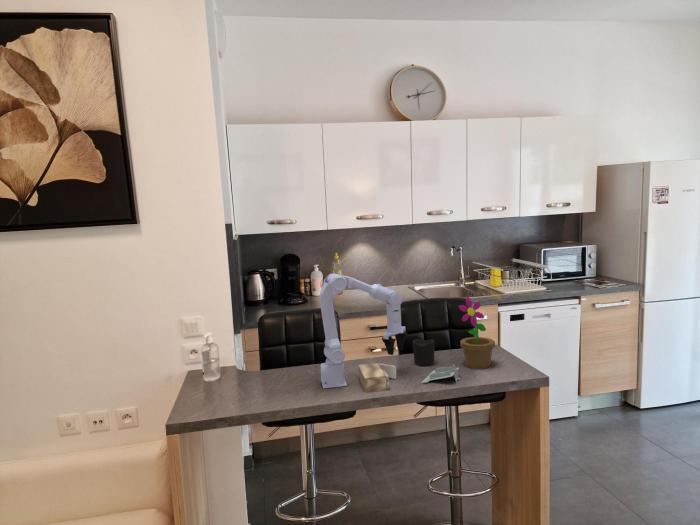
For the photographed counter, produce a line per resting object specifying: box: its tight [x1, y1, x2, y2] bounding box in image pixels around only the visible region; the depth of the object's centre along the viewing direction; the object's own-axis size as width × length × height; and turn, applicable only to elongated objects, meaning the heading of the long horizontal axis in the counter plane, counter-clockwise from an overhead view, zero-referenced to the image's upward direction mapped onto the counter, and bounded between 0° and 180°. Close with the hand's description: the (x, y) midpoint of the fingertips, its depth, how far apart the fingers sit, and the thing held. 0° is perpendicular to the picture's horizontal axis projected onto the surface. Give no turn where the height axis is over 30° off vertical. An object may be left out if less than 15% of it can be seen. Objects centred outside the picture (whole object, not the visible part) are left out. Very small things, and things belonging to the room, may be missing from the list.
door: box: [378, 362, 397, 380], centre depth 197 cm, size 1×8×5 cm, turn 53°
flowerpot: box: [458, 296, 496, 369], centre depth 205 cm, size 14×14×30 cm
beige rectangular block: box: [357, 362, 391, 393], centre depth 191 cm, size 10×16×6 cm, turn 9°
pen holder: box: [412, 338, 435, 367], centre depth 212 cm, size 9×9×10 cm
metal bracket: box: [420, 364, 461, 384], centre depth 192 cm, size 14×6×15 cm
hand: (395, 352), depth 199 cm, fingers open, 7 cm apart
